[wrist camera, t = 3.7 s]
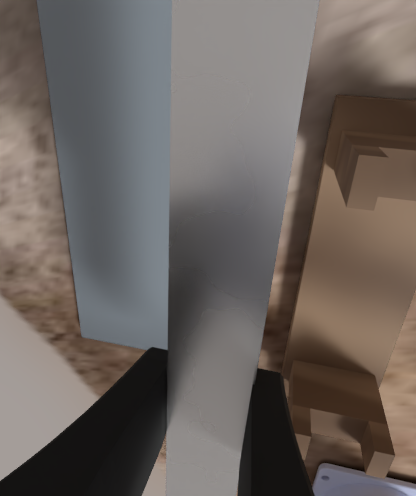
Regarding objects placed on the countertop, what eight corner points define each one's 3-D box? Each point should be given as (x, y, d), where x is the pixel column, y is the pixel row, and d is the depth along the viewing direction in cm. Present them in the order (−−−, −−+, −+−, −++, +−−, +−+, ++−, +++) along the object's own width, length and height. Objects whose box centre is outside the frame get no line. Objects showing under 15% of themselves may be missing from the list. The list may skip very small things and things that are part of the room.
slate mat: (207, 354, 22) (205, 361, 22) (86, 331, 24) (81, 337, 23) (236, -65, 13) (233, -70, 13) (37, -65, 15) (27, -70, 14)
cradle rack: (366, 399, 21) (386, 497, 16) (279, 381, 22) (274, 470, 17) (471, 104, 14) (563, 124, 9) (335, 94, 15) (354, 109, 10)
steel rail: (229, 529, 15) (219, 593, 13) (180, 515, 15) (164, 575, 13) (323, -36, 6) (331, -74, 4) (206, -38, 6) (173, -75, 5)
